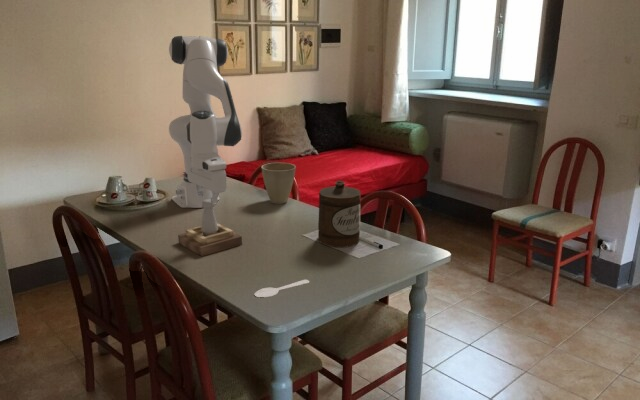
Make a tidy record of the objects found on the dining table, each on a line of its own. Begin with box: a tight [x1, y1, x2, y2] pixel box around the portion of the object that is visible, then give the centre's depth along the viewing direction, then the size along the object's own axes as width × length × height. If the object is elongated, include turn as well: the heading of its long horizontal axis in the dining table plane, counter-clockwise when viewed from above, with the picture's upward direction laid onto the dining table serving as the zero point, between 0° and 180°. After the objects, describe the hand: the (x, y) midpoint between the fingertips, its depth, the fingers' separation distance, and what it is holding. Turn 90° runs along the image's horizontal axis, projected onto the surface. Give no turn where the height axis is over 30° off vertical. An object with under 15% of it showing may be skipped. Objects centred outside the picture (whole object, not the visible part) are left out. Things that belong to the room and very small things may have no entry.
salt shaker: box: [200, 199, 218, 237], centre depth 182 cm, size 6×6×13 cm
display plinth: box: [177, 222, 243, 257], centre depth 184 cm, size 16×16×5 cm
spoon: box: [253, 279, 310, 298], centre depth 153 cm, size 5×18×1 cm, turn 123°
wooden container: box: [317, 180, 361, 248], centre depth 186 cm, size 15×15×22 cm
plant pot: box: [261, 162, 296, 205], centre depth 231 cm, size 15×15×16 cm
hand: (207, 199), depth 180 cm, fingers open, 8 cm apart
